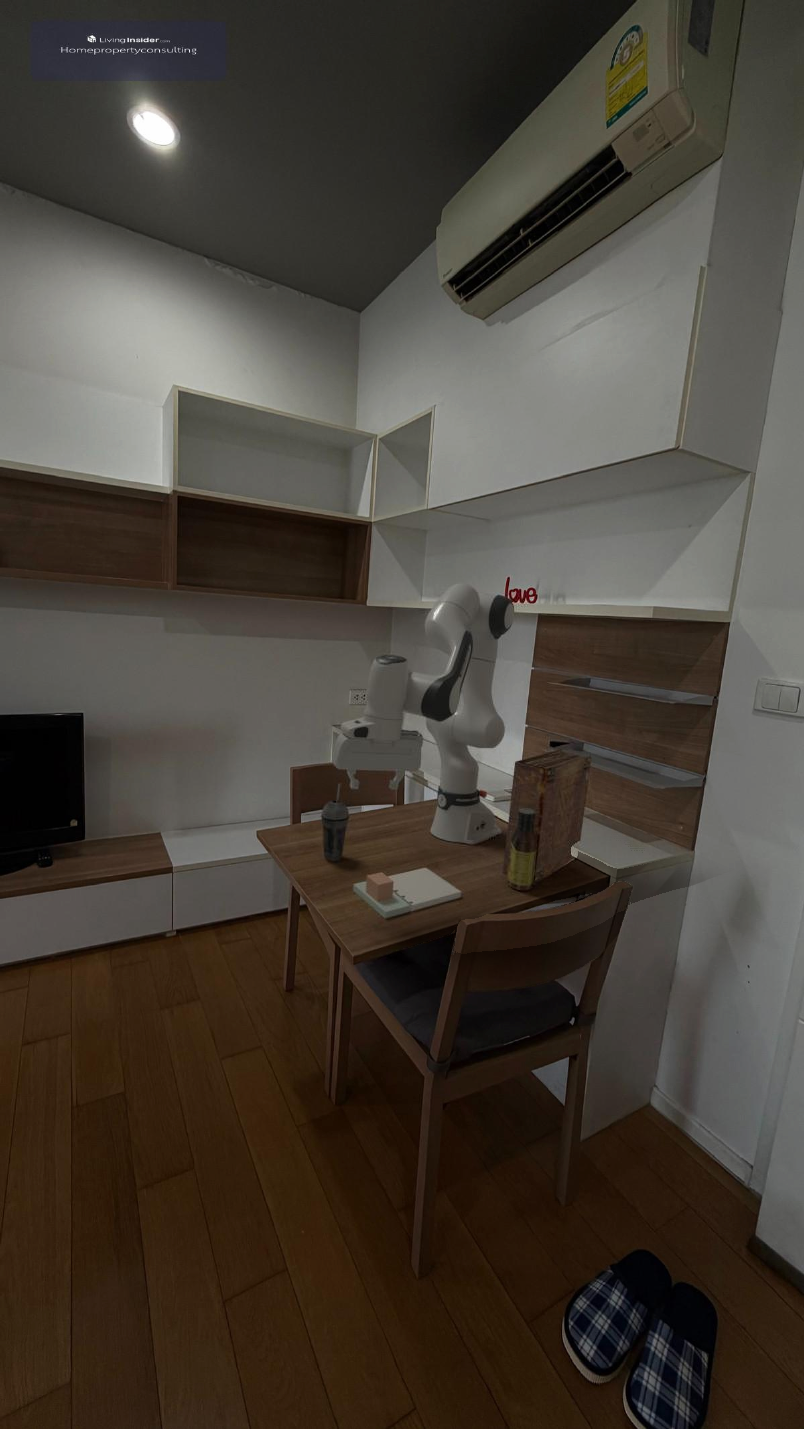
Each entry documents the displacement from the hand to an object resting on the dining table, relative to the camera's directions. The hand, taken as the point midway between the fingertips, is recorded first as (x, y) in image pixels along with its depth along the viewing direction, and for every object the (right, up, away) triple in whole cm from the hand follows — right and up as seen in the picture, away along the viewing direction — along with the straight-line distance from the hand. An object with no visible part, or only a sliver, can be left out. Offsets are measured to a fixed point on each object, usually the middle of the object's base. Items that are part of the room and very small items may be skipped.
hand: (373, 788), depth 129 cm
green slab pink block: (+1, -26, +1) cm, 26 cm away
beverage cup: (-12, -21, +22) cm, 33 cm away
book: (+44, -25, +27) cm, 57 cm away
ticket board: (+10, -25, +7) cm, 28 cm away
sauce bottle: (+35, -26, +13) cm, 46 cm away
